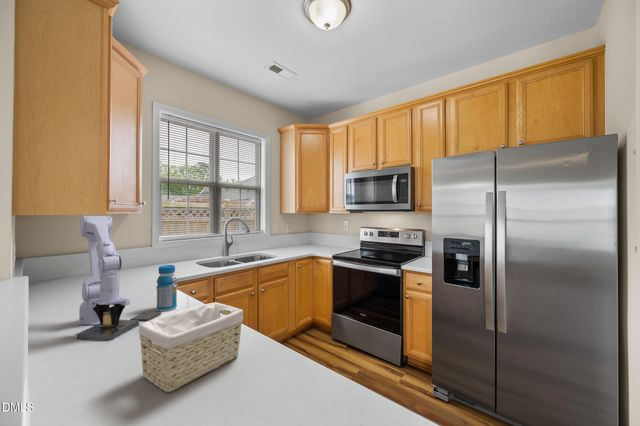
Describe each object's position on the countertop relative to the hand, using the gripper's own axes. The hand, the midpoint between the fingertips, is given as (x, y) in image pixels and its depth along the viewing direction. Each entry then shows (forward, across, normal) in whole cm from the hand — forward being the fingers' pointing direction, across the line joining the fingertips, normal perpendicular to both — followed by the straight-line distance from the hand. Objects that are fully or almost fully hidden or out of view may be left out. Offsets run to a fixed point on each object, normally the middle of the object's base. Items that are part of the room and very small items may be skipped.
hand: (109, 324), depth 101 cm
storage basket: (+3, +44, -20) cm, 49 cm away
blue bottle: (+3, +6, +26) cm, 26 cm away
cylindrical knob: (+3, 0, 0) cm, 3 cm away
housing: (+3, 0, 0) cm, 3 cm away
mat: (+3, +4, +14) cm, 15 cm away
